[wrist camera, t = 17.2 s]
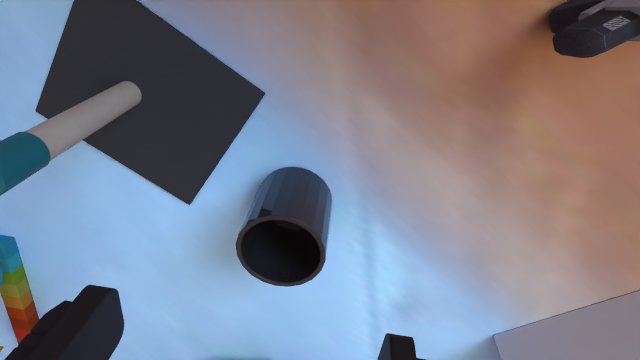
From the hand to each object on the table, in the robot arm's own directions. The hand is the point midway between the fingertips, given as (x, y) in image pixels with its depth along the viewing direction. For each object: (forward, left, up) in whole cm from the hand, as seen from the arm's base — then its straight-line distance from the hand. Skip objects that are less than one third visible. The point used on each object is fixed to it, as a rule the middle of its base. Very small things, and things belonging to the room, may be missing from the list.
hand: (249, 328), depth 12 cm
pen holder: (+6, -15, -32) cm, 36 cm away
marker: (-16, -15, -32) cm, 38 cm away
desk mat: (-14, -15, -32) cm, 38 cm away
